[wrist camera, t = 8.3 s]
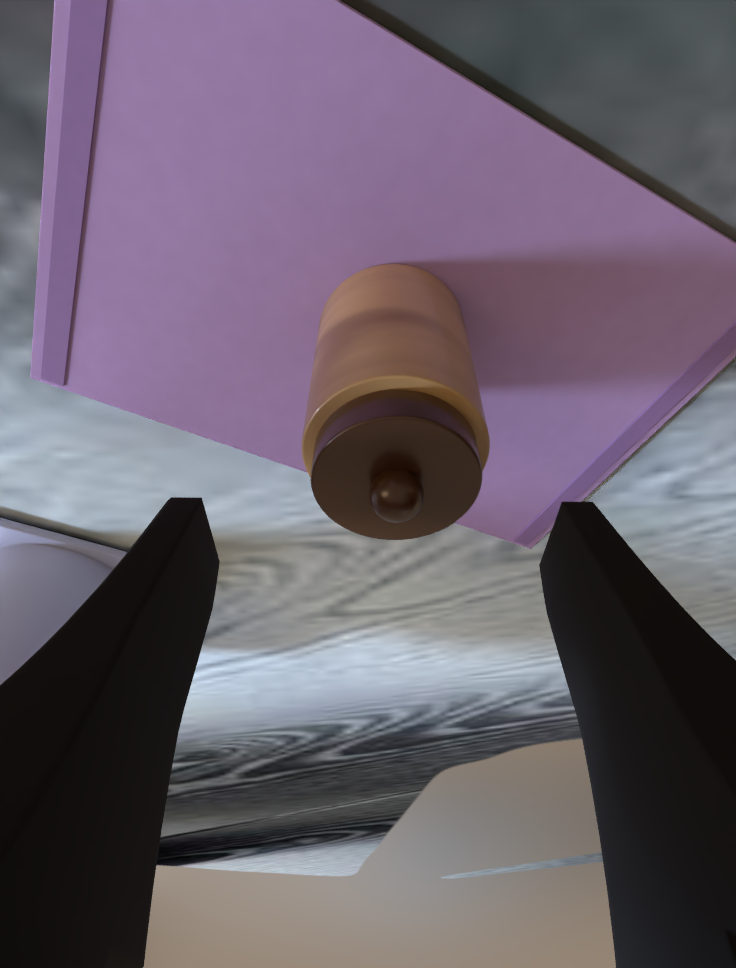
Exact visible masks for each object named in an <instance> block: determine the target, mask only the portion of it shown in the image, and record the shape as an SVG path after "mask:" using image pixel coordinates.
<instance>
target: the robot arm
mask: <svg viewBox="0 0 736 968" xmlns="http://www.w3.org/2000/svg"><path fill="white" fill-rule="evenodd" d="M539 566H540V573H541V580H542V587H543V593H544V599H545V605H546V611H547V615H548V618H549V622H550V625H551V629H552V632H553V636H554V639H555V643H556V646H557V650H558V653H559V657H560V660H561V663H562V667H563V670H564V674H565V677H566V680H567V684H568V687H569V691H570V694H571V697H572V701H573V704H574V708H575V711H576V715H577V719H578V723H579V727H580V731H581V735H582V739H583V745H584V750H585V755H586V760H587V766H588V771H589V777H590V782H591V788H592V793H593V799H594V805H595V811H596V817H597V823H598V829H599V835H600V842H601V848H602V856H603V863H604V870H605V877H606V884H607V891H608V899H609V908H610V916H611V925H612V933H613V940H614V950H615V960H616V968H736V660H735V659H734V658H732V657H731V656H730V655H729V654H728V653H727V652H726V651H725V650H724V649H723V648H722V647H721V646H720V645H719V644H718V643H717V642H716V641H715V640H714V639H713V638H712V637H711V636H710V635H709V634H708V633H707V632H706V631H705V630H704V629H703V628H702V627H701V626H700V625H699V624H698V623H697V622H696V621H695V620H694V619H693V618H692V617H691V616H690V615H689V614H688V613H687V612H686V611H685V610H684V609H683V607H682V606H681V605H680V604H679V603H678V602H677V601H676V600H675V599H674V598H673V597H672V595H671V594H670V593H669V592H668V591H667V590H666V589H665V588H664V586H663V585H662V584H661V583H660V582H659V581H658V580H657V579H656V577H655V576H654V575H653V574H652V573H651V572H650V571H649V569H648V568H647V567H646V566H645V565H644V564H643V562H642V561H641V560H640V559H639V558H638V556H637V555H636V554H635V553H634V552H633V550H632V549H631V548H630V547H629V546H628V544H627V543H626V542H625V541H624V540H623V538H622V537H621V536H620V535H619V533H618V532H617V531H616V530H615V529H614V527H613V526H612V525H611V524H610V522H609V521H608V520H607V519H606V518H605V516H604V515H603V514H602V513H601V511H600V510H599V509H598V508H597V507H596V506H595V504H594V503H593V502H562V503H561V505H560V508H559V511H558V514H557V517H556V520H555V522H554V525H553V528H552V531H551V534H550V537H549V540H548V542H547V545H546V548H545V551H544V554H543V557H542V559H541V562H540V565H539ZM218 569H219V558H218V555H217V551H216V547H215V544H214V540H213V537H212V533H211V530H210V526H209V522H208V519H207V515H206V512H205V508H204V505H203V501H202V498H170V499H169V500H168V501H167V502H166V503H165V505H164V506H163V507H162V509H161V510H160V511H159V512H158V514H157V515H156V516H155V518H154V519H153V520H152V522H151V523H150V524H149V525H148V527H147V528H146V529H145V531H144V532H143V533H142V534H141V536H140V537H139V538H138V540H137V541H136V542H135V543H134V545H133V546H132V547H131V548H130V550H129V551H128V552H125V551H122V550H118V549H114V548H111V547H107V546H103V545H100V544H96V543H92V542H88V541H85V540H81V539H77V538H74V537H70V536H66V535H63V534H59V533H55V532H52V531H48V530H44V529H41V528H37V527H33V526H29V525H26V524H22V523H18V522H15V521H11V520H7V519H4V518H0V968H143V966H144V959H145V949H146V940H147V932H148V924H149V916H150V908H151V899H152V892H153V884H154V877H155V870H156V863H157V856H158V849H159V842H160V835H161V829H162V823H163V817H164V810H165V804H166V798H167V792H168V786H169V780H170V775H171V769H172V764H173V758H174V753H175V747H176V742H177V736H178V731H179V727H180V723H181V719H182V715H183V711H184V707H185V703H186V700H187V696H188V693H189V689H190V686H191V682H192V679H193V675H194V672H195V669H196V665H197V662H198V658H199V655H200V651H201V648H202V644H203V641H204V637H205V633H206V630H207V626H208V623H209V619H210V615H211V612H212V608H213V602H214V596H215V590H216V583H217V576H218Z"/></svg>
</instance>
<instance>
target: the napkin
mask: <svg viewBox="0 0 736 968" xmlns="http://www.w3.org/2000/svg"><path fill="white" fill-rule="evenodd" d="M385 264H401V265H408V266H412V267H416V268H419V269H422V270H424V271H427V272H428V273H430V274H432V275H434V276H435V277H437V278H438V279H439V280H441V281H442V282H443V283H444V284H445V285H446V286H447V287H448V288H449V289H450V290H451V292H452V293H453V294H454V296H455V297H456V299H457V301H458V303H459V305H460V308H461V311H462V315H463V319H464V324H465V328H466V333H467V337H468V342H469V346H470V351H471V355H472V360H473V364H474V369H475V373H476V378H477V382H478V387H479V391H480V396H481V400H482V405H483V409H484V414H485V418H486V423H487V427H488V432H489V438H490V450H489V456H488V460H487V462H486V465H485V468H484V470H483V472H482V485H481V489H480V492H479V494H478V497H477V499H476V500H475V502H474V504H473V505H472V507H471V508H470V509H469V510H468V511H467V512H466V513H465V514H464V515H463V516H462V517H461V518H460V519H459V520H457V521H456V522H455V523H457V524H460V525H463V526H466V527H468V528H471V529H474V530H477V531H480V532H483V533H486V534H489V535H492V536H495V537H498V538H501V539H504V540H507V541H509V542H512V543H515V544H518V545H521V546H524V547H527V548H530V549H531V548H532V547H533V546H534V545H535V544H537V543H538V542H539V541H540V540H541V539H542V538H543V537H544V536H545V535H546V534H547V533H548V532H549V531H550V530H551V529H552V528H553V525H554V522H555V520H556V517H557V514H558V511H559V508H560V505H561V503H562V502H581V501H582V500H583V499H585V498H586V497H587V496H588V495H589V494H590V493H591V492H592V491H593V490H594V489H595V488H596V487H597V486H598V485H599V484H601V483H602V482H603V481H604V480H605V479H606V478H607V477H608V476H609V475H610V474H611V473H612V472H613V471H614V470H615V469H617V468H618V467H619V466H620V465H621V464H622V463H623V462H624V461H625V460H626V459H627V458H628V457H629V456H630V455H631V454H633V453H634V452H635V451H636V450H637V449H638V448H639V447H640V446H641V445H642V444H643V443H644V442H645V441H646V440H647V439H649V438H650V437H651V436H652V435H653V434H654V433H655V432H656V431H657V430H658V429H659V428H660V427H661V426H662V425H663V424H665V423H666V422H667V421H668V420H669V419H670V418H671V417H672V416H673V415H674V414H675V413H676V412H677V411H678V410H679V409H681V408H682V407H683V406H684V405H685V404H686V403H687V402H688V401H689V400H690V399H691V398H692V397H693V396H694V395H695V394H697V393H698V392H699V391H700V390H701V389H702V388H703V387H704V386H705V385H706V384H707V383H708V382H709V381H710V380H711V379H713V378H714V377H715V376H716V375H717V374H718V373H719V372H720V371H721V370H722V369H723V368H724V367H725V366H726V365H727V364H729V363H730V362H731V361H732V360H733V359H734V358H735V357H736V242H735V241H733V240H732V239H730V238H728V237H727V236H725V235H723V234H722V233H720V232H719V231H717V230H715V229H714V228H712V227H710V226H709V225H707V224H705V223H704V222H702V221H701V220H699V219H697V218H696V217H694V216H692V215H691V214H689V213H687V212H686V211H684V210H683V209H681V208H679V207H678V206H676V205H674V204H673V203H671V202H669V201H668V200H666V199H665V198H663V197H661V196H660V195H658V194H656V193H655V192H653V191H651V190H650V189H648V188H646V187H645V186H643V185H642V184H640V183H638V182H637V181H635V180H633V179H632V178H630V177H628V176H627V175H625V174H624V173H622V172H620V171H619V170H617V169H615V168H614V167H612V166H610V165H609V164H607V163H606V162H604V161H602V160H601V159H599V158H597V157H596V156H594V155H592V154H591V153H589V152H588V151H586V150H584V149H583V148H581V147H579V146H578V145H576V144H574V143H573V142H571V141H570V140H568V139H566V138H565V137H563V136H561V135H560V134H558V133H556V132H555V131H553V130H552V129H550V128H548V127H547V126H545V125H543V124H542V123H540V122H538V121H537V120H535V119H534V118H532V117H530V116H529V115H527V114H525V113H524V112H522V111H520V110H519V109H517V108H516V107H514V106H512V105H511V104H509V103H507V102H506V101H504V100H502V99H501V98H499V97H498V96H496V95H494V94H493V93H491V92H489V91H488V90H486V89H484V88H483V87H481V86H480V85H478V84H476V83H475V82H473V81H471V80H470V79H468V78H466V77H465V76H463V75H462V74H460V73H458V72H457V71H455V70H453V69H452V68H450V67H448V66H447V65H445V64H444V63H442V62H440V61H439V60H437V59H435V58H434V57H432V56H430V55H429V54H427V53H426V52H424V51H422V50H421V49H419V48H417V47H416V46H414V45H412V44H411V43H409V42H408V41H406V40H404V39H403V38H401V37H399V36H398V35H396V34H394V33H393V32H391V31H390V30H388V29H386V28H385V27H383V26H381V25H380V24H378V23H376V22H375V21H373V20H372V19H370V18H368V17H367V16H365V15H363V14H362V13H360V12H358V11H357V10H355V9H354V8H352V7H350V6H349V5H347V4H345V3H344V2H342V1H340V0H55V2H54V17H53V33H52V49H51V64H50V80H49V95H48V111H47V127H46V142H45V158H44V173H43V189H42V205H41V220H40V236H39V251H38V267H37V283H36V298H35V314H34V329H33V345H32V361H31V376H30V377H31V378H32V379H35V380H38V381H41V382H44V383H47V384H50V385H53V386H56V387H58V388H61V389H64V390H67V391H70V392H73V393H76V394H79V395H82V396H85V397H88V398H91V399H94V400H97V401H99V402H102V403H105V404H108V405H111V406H114V407H117V408H120V409H123V410H126V411H129V412H132V413H135V414H138V415H140V416H143V417H146V418H149V419H152V420H155V421H158V422H161V423H164V424H167V425H170V426H173V427H176V428H179V429H181V430H184V431H187V432H190V433H193V434H196V435H199V436H202V437H205V438H208V439H211V440H214V441H217V442H220V443H222V444H225V445H228V446H231V447H234V448H237V449H240V450H243V451H246V452H249V453H252V454H255V455H258V456H261V457H263V458H266V459H269V460H272V461H275V462H278V463H281V464H284V465H287V466H290V467H293V468H296V469H299V470H302V471H304V472H307V470H306V468H305V465H304V461H303V458H302V450H301V449H302V436H303V429H304V423H305V416H306V409H307V402H308V396H309V389H310V382H311V375H312V369H313V362H314V355H315V349H316V342H317V335H318V328H319V322H320V317H321V313H322V311H323V308H324V305H325V304H326V302H327V300H328V298H329V297H330V295H331V294H332V293H333V291H334V290H335V289H336V288H337V287H338V286H339V285H340V284H341V283H342V282H343V281H345V280H346V279H347V278H349V277H350V276H352V275H354V274H355V273H357V272H359V271H362V270H364V269H366V268H370V267H374V266H378V265H385ZM307 473H308V472H307Z"/></svg>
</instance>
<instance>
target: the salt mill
mask: <svg viewBox="0 0 736 968" xmlns="http://www.w3.org/2000/svg"><path fill="white" fill-rule="evenodd" d="M301 450H302V458H303V461H304V465H305V468H306V470H307V472H308V474H309V476H310V478H311V487H312V491H313V494H314V497H315V499H316V501H317V503H318V504H319V506H320V507H321V509H322V510H323V511H324V512H325V513H326V514H327V516H328V517H330V518H331V519H332V520H333V521H334V522H336V523H337V524H339V525H340V526H342V527H344V528H346V529H348V530H350V531H352V532H355V533H357V534H360V535H363V536H367V537H371V538H377V539H386V540H403V539H412V538H418V537H422V536H426V535H430V534H432V533H435V532H438V531H440V530H442V529H444V528H446V527H448V526H450V525H451V524H453V523H455V522H456V521H457V520H459V519H460V518H461V517H462V516H463V515H464V514H465V513H466V512H467V511H468V510H469V509H470V508H471V507H472V505H473V504H474V502H475V500H476V499H477V497H478V494H479V492H480V489H481V485H482V472H483V470H484V468H485V465H486V462H487V460H488V456H489V450H490V438H489V432H488V427H487V423H486V418H485V414H484V409H483V405H482V400H481V396H480V391H479V387H478V382H477V378H476V373H475V369H474V364H473V360H472V355H471V351H470V346H469V342H468V337H467V333H466V328H465V324H464V319H463V315H462V311H461V308H460V305H459V303H458V301H457V299H456V297H455V296H454V294H453V293H452V292H451V290H450V289H449V288H448V287H447V286H446V285H445V284H444V283H443V282H442V281H441V280H439V279H438V278H437V277H435V276H434V275H432V274H430V273H428V272H427V271H424V270H422V269H419V268H416V267H412V266H408V265H401V264H385V265H378V266H374V267H370V268H366V269H364V270H362V271H359V272H357V273H355V274H354V275H352V276H350V277H349V278H347V279H346V280H345V281H343V282H342V283H341V284H340V285H339V286H338V287H337V288H336V289H335V290H334V291H333V293H332V294H331V295H330V297H329V298H328V300H327V302H326V304H325V305H324V308H323V311H322V313H321V317H320V322H319V328H318V335H317V342H316V349H315V355H314V362H313V369H312V375H311V382H310V389H309V396H308V402H307V409H306V416H305V423H304V429H303V436H302V449H301Z"/></svg>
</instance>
